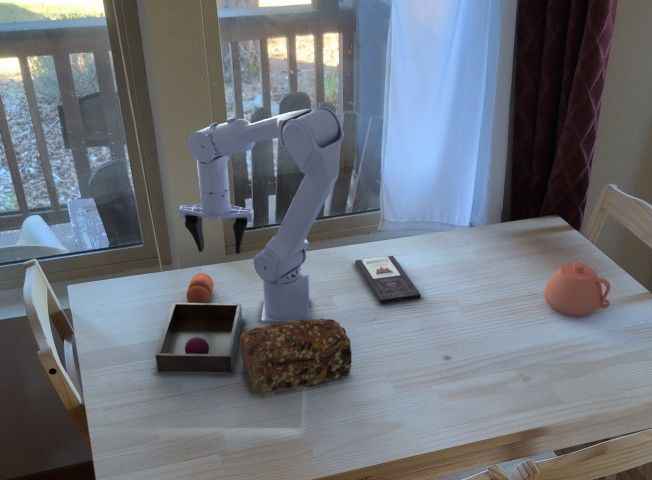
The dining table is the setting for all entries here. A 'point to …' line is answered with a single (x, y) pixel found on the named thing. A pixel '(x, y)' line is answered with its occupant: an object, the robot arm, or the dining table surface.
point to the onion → (197, 346)
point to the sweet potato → (200, 289)
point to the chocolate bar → (387, 279)
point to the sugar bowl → (576, 290)
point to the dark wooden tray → (200, 321)
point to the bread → (295, 354)
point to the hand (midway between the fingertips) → (220, 250)
